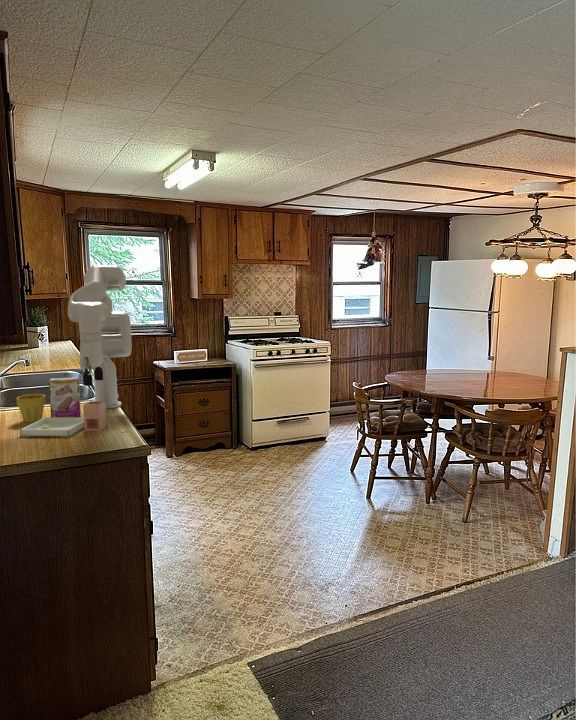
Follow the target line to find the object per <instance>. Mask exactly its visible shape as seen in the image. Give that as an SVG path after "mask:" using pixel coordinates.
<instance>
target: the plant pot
mask: <svg viewBox="0 0 576 720" xmlns="http://www.w3.org/2000/svg"><path fill="white" fill-rule="evenodd" d="M46 401H47V399H46V395H45V394H40V393H35V394H34V393H33V394H32V393H31V394H23V395H20V396H17V397H16V405H17V407H18V408H19V411H20V414H21V417H22V421H23V422H25V423H35V422H37V421H39V420H41V419H43V415H44V414H43V413H44V407H45V405H46V403H47V402H46Z"/></svg>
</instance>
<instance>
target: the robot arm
mask: <svg viewBox="0 0 576 720" xmlns="http://www.w3.org/2000/svg"><path fill="white" fill-rule="evenodd" d="M83 283H84V285H83V286H81V287H80V288H78V289H77V290H75V291H74V292H73V293H71V295H70V297H69V300H68V304H67V305H68V306H67V316H68V318H69V320H70V321H71V322H73V323H78V329H79V340H80V341H79V342H80V345H79V367H80V370H81V375H82V381H83V383H82V385H83V386H84V387H87V386H88V387H91V386H93V384H94V401H106V410H108V408H109V409H115V408H118V406H119V407H121V406H122V402H121V401H118V398H119V396H120V395H119V394H118V383H117V381H118V379H117V367H116V365H115V363H114V362H113V361H112V360H111V359H110V358H125V357H129V356H130V355H131V354H132V351H133V349H132V348H133V345H132V343H133V342H132V326H131V325H132V323H131V317H130V315H129V313H127V312H126V311H114V310H113V299H112V298H111V297H110V295H108V293H107V291H112V292H113V291H114V292H115V291H118V292H119V291H123V290H124V289H126V285H127V279H126V274H125V272H124V270H123V269H122V268H121V267H120V266H119V265H115V264H114V265H112V264H111V265H110V264H109V265H107V264H103V265H101V264H100V265H99V264H98V265H97V264H96V265H91V266H90V267H88V268H87V270H86V273H84V275H83ZM103 334H120V335H103ZM92 371H93V374H92ZM93 382H94V383H93Z"/></svg>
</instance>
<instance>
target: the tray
mask: <svg viewBox="0 0 576 720" xmlns="http://www.w3.org/2000/svg"><path fill="white" fill-rule="evenodd" d="M45 425H47V426H49V427H50V429H41V428H42V427H43V426H45ZM81 429H82V430H84V429H85V427H84V417H80V418H65V417H51V416H50V417H48V416H47V417H46V416H45V417H42V419H41V420H39V421H36V422H32V423H31V424H28V425H27V426H25V427H22V428H21V429H20V428H19V436H20V437H30V436H46V437H47V436H60V437H62V438H65V437H66V438H69V437H72V436H74V435H76V433H78V432H79V431H81ZM60 437H59V438H60Z"/></svg>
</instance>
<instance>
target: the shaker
mask: <svg viewBox="0 0 576 720" xmlns="http://www.w3.org/2000/svg"><path fill="white" fill-rule="evenodd" d="M82 408H83V409H82V410H83V418H84V427H85V428H84V432H101V431H103V430H105V429H106V428H107V427H108V421H107V409H106V401H95V400H89V401H88V402H86V403H83V404H82ZM106 426H107V427H106ZM105 427H106V428H105ZM102 429H103V430H102Z"/></svg>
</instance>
